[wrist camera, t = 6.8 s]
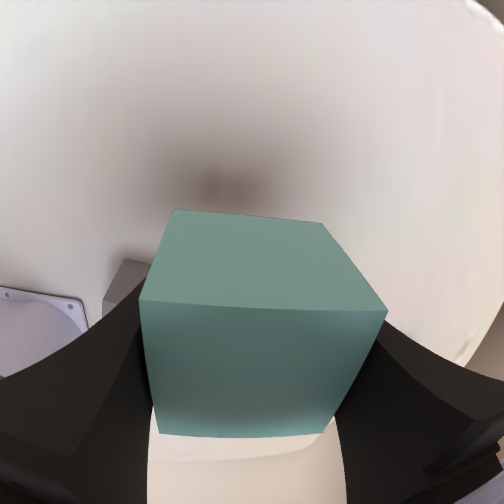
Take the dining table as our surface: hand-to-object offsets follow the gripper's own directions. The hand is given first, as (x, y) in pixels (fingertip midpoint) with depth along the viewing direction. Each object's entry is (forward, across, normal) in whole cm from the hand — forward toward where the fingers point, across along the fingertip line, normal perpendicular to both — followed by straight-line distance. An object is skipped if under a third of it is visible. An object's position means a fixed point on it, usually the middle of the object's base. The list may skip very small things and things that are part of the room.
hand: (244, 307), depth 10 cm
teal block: (+2, 0, 0) cm, 2 cm away
